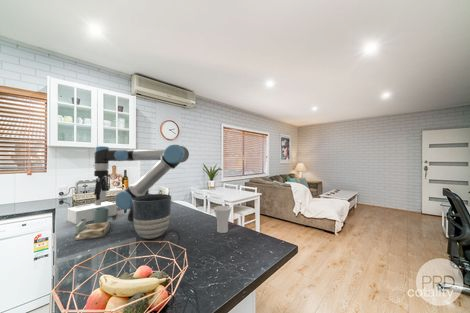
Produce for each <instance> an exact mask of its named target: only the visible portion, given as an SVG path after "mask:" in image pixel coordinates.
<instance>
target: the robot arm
mask: <svg viewBox="0 0 470 313" xmlns="http://www.w3.org/2000/svg"><path fill="white" fill-rule="evenodd" d="M93 154H94V164H93V167H94V171H93V173H94V177H97V178H96V179H95V188H94V192H93V195H95V198H94V199H95V201H94V203H95V205H101V202H105V201H107V191H108V186H107V176H109V169H110V168H109V166H110V164H109V162H125V161H127V162H132V161H157V162H156V163H155V164H154V165H153V166H152V167H151V168H150V169H149V170H148V171H147V172H145V174H143V176H141V177H140V179H138V180H137V181H136V182H135V183H134V184H133V183H132V184H129V186H128V187H126V188H125V189H124V190H121V191H119V192H118V193H117V194H116V196H115V199H114V203H116V205H117V207H118V208H119V209H121V210H125V211H126V210H129V211H128V214H127V221H129V222H130V221H131V222H133V205H132V199H133V198H135V197H138V196H143V195H150V193H149V192H150V191H149V189H151V188H152V187H153V186H154V185H155V184H156V183H157V182H158V181H159V180H160V179H161V178H162V177H163V176H164V175H165V174H166V173H168V172H169V171H170V170H171V169H172V170H173V169H175V168H176V167H178V166H179V165H180V164H181V163H184V162H186V161H187V160H188V159H189V156H190V152H189V149H188V148H187V147H186V146H184V145H179V144H170V145H168V146H167V147H166V148H165V149H133V150H131V149H130V150H129V149H120V148H119V149H110V147H109V146H100V145H98V146H95V148H94V152H93Z"/></svg>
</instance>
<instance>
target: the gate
mask: <svg viewBox="0 0 470 313" xmlns="http://www.w3.org/2000/svg"><path fill="white" fill-rule="evenodd" d="M83 229H86V222H85V218H82V219H81V222H80V223H79V224H76V225H75V235H78V234H79V233H80V232H81V231H82V230H83Z"/></svg>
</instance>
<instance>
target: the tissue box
mask: <svg viewBox="0 0 470 313" xmlns="http://www.w3.org/2000/svg"><path fill="white" fill-rule="evenodd" d="M101 207H108V208H109V217H112V216H116V215H117V213H118V212H117V210H118V209H117V207H118V206H117V205H116V203H115V202H110V201H101V205H95V202H94V203H87V204H81V205H74V206H73V207H69V208H67V221H68V222H70V223H72V224H75V225H78V224H79V223H80V222H81V219H82V218H85V223H87V222H91V221H94V209H96V208H101Z"/></svg>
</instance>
